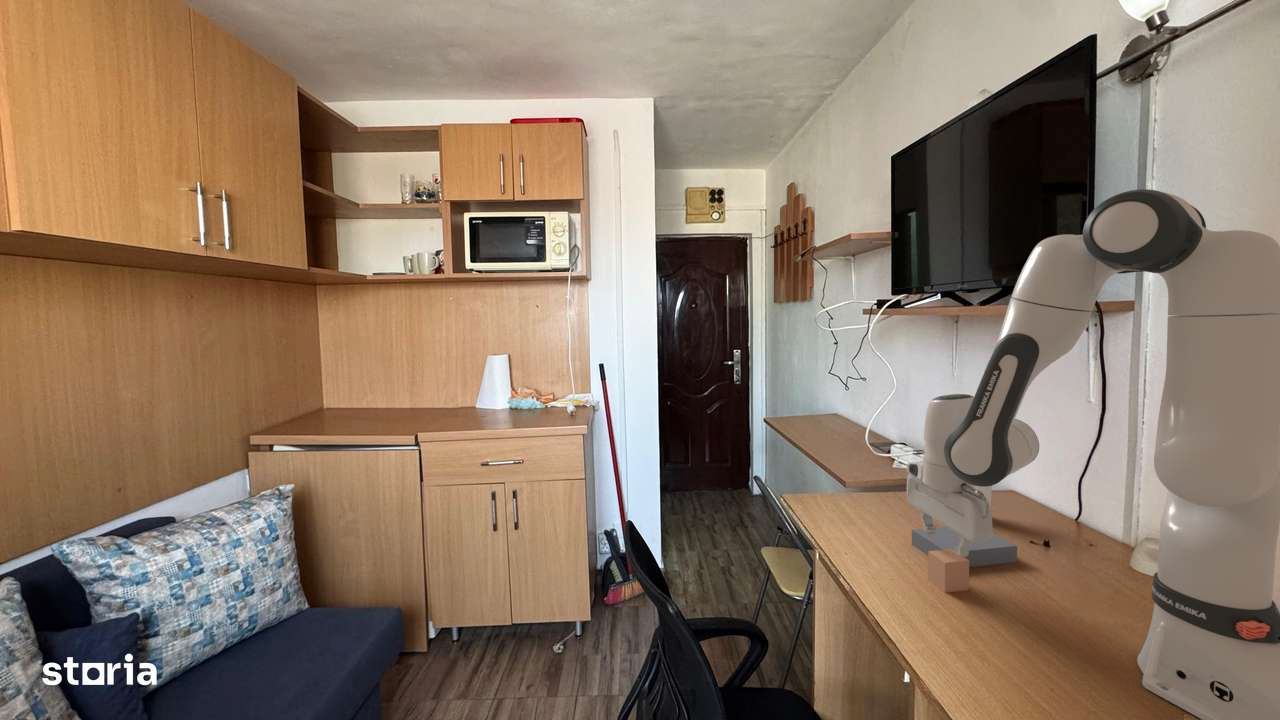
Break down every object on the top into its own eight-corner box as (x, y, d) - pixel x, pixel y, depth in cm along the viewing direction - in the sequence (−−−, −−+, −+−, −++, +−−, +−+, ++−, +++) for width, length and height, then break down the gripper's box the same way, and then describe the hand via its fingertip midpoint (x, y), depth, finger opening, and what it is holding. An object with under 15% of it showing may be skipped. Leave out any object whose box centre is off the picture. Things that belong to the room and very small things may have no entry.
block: (968, 590, 103) (969, 560, 103) (944, 592, 103) (945, 562, 102) (950, 577, 108) (951, 549, 108) (927, 579, 108) (928, 551, 107)
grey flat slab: (1016, 563, 113) (1017, 545, 113) (947, 571, 111) (947, 552, 111) (974, 540, 125) (974, 523, 125) (911, 546, 123) (911, 529, 123)
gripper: (1004, 494, 94) (1000, 568, 95) (929, 459, 114) (926, 521, 115) (971, 496, 93) (967, 571, 95) (901, 461, 113) (899, 523, 115)
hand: (944, 543), depth 105 cm, fingers open, 8 cm apart
